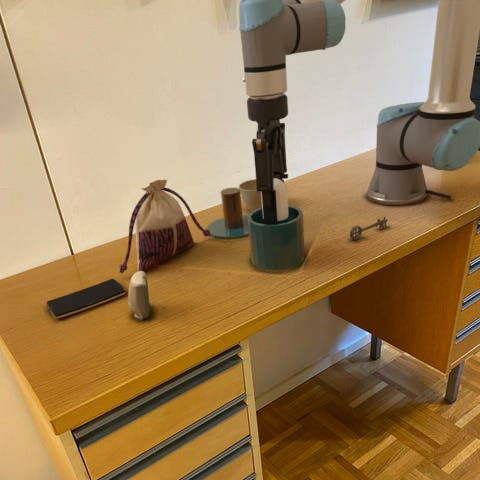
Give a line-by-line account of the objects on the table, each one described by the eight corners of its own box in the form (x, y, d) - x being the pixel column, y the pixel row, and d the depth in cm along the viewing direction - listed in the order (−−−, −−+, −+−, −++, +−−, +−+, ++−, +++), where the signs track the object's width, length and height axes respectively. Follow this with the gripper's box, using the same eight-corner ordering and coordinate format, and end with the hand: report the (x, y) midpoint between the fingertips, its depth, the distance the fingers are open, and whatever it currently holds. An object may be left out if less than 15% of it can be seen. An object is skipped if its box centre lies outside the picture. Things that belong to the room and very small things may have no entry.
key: (351, 242, 111) (351, 229, 109) (348, 241, 112) (348, 228, 110) (388, 227, 116) (388, 214, 114) (384, 226, 117) (385, 212, 115)
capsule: (284, 222, 99) (281, 183, 95) (259, 221, 101) (256, 183, 97) (291, 212, 103) (289, 174, 99) (268, 211, 105) (265, 174, 101)
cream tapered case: (164, 312, 94) (156, 276, 90) (142, 324, 91) (132, 287, 87) (148, 303, 98) (139, 267, 93) (126, 314, 95) (116, 278, 91)
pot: (310, 250, 110) (308, 205, 105) (296, 274, 101) (294, 227, 96) (261, 247, 114) (257, 204, 109) (244, 270, 105) (239, 224, 100)
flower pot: (264, 218, 129) (261, 192, 125) (234, 213, 135) (231, 188, 131) (284, 206, 135) (283, 180, 131) (255, 201, 141) (253, 176, 137)
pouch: (136, 285, 105) (115, 199, 94) (114, 276, 110) (91, 193, 99) (217, 242, 119) (206, 163, 109) (194, 235, 124) (181, 160, 114)
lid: (269, 220, 128) (266, 181, 122) (251, 242, 117) (247, 201, 112) (220, 218, 133) (215, 181, 127) (198, 239, 122) (192, 200, 116)
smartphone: (126, 290, 101) (54, 316, 95) (127, 294, 101) (56, 321, 95) (114, 277, 106) (45, 301, 100) (115, 282, 107) (46, 306, 101)
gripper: (262, 87, 98) (271, 199, 111) (229, 106, 84) (243, 232, 97) (299, 85, 95) (303, 200, 108) (271, 104, 81) (279, 234, 94)
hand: (275, 215), depth 102 cm, fingers closed on capsule, 5 cm apart
